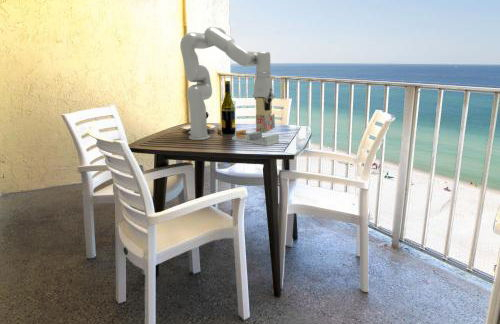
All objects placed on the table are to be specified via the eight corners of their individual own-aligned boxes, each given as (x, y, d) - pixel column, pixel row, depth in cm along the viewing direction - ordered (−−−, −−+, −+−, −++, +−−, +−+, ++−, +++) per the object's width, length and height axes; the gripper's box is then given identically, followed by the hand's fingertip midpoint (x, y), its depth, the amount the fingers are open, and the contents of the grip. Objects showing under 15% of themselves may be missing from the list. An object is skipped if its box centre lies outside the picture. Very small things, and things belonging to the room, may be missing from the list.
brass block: (256, 114, 204) (255, 97, 202) (264, 113, 209) (264, 96, 206) (263, 115, 201) (262, 98, 198) (271, 113, 205) (271, 97, 203)
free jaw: (233, 136, 218) (233, 131, 217) (245, 134, 224) (245, 129, 224) (250, 139, 209) (250, 134, 208) (262, 136, 216) (262, 131, 215)
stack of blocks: (266, 127, 260) (265, 109, 257) (274, 127, 258) (274, 109, 255) (256, 132, 241) (255, 113, 237) (265, 132, 238) (265, 113, 235)
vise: (232, 139, 219) (231, 132, 218) (244, 137, 226) (244, 129, 225) (267, 145, 201) (267, 137, 200) (279, 142, 208) (278, 134, 207)
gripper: (246, 75, 202) (247, 109, 207) (271, 76, 191) (271, 111, 196) (256, 75, 208) (256, 108, 212) (280, 75, 196) (280, 110, 201)
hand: (263, 109), depth 204 cm, fingers closed on brass block, 5 cm apart
